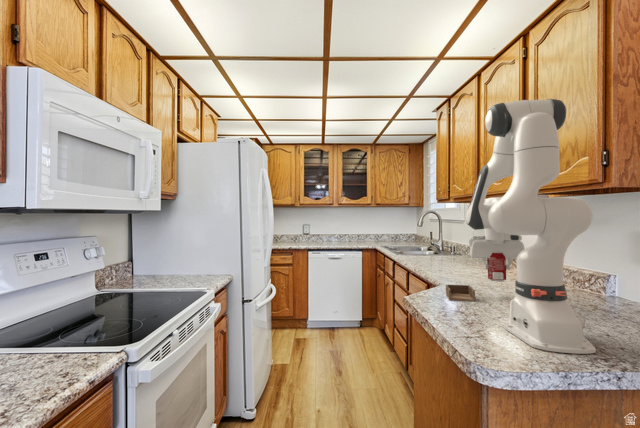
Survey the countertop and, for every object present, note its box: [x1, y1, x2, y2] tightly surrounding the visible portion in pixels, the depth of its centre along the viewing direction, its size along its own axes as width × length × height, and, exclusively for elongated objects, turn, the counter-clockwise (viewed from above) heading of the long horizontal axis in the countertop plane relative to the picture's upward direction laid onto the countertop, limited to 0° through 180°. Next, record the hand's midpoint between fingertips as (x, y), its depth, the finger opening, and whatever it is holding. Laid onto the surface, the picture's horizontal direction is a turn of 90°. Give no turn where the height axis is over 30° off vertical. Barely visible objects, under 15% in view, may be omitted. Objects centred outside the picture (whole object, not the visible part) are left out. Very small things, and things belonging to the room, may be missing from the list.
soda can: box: [486, 252, 507, 283], centre depth 130 cm, size 7×7×12 cm
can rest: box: [445, 284, 476, 302], centre depth 130 cm, size 10×10×4 cm
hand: (497, 269), depth 130 cm, fingers closed on soda can, 6 cm apart
